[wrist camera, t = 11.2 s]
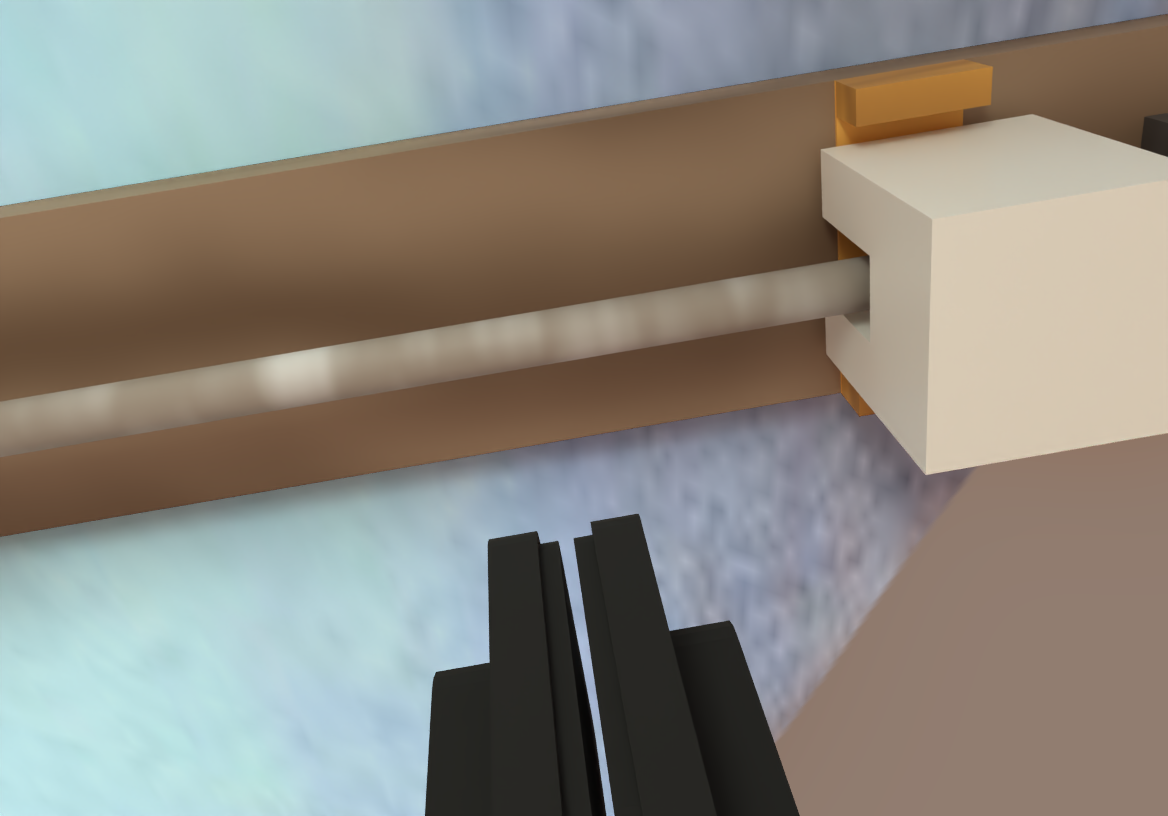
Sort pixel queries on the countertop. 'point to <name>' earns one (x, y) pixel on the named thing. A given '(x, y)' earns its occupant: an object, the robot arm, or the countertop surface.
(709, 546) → the countertop surface
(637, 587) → the robot arm
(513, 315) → the linear slide rail
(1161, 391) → the sleeve
